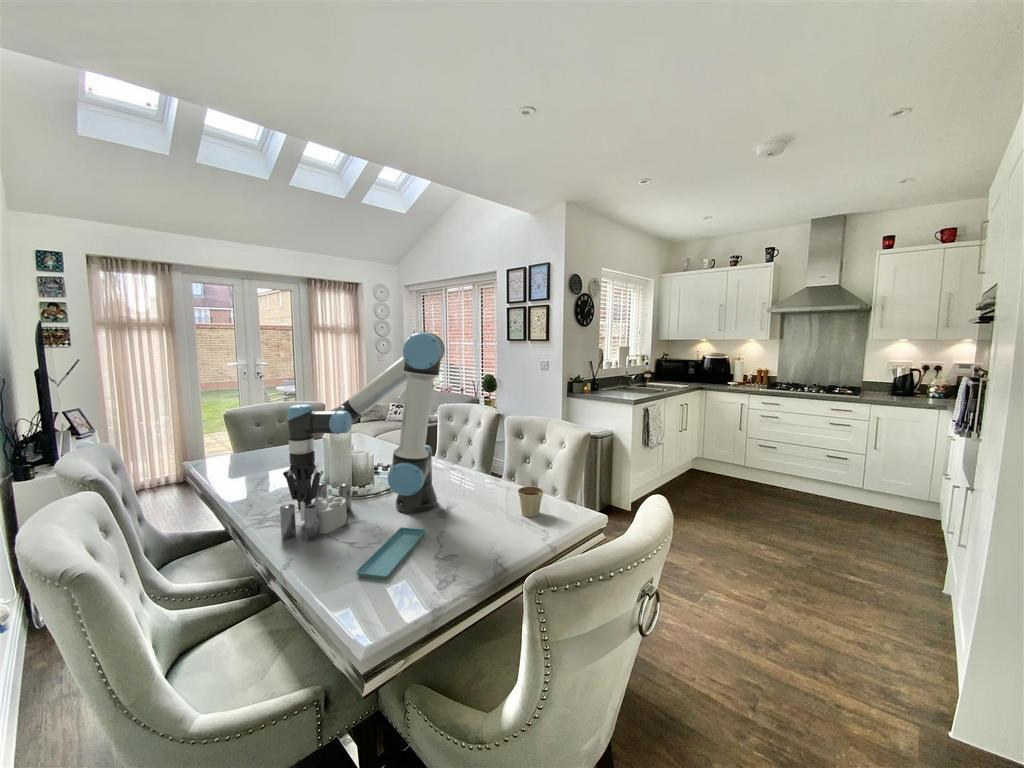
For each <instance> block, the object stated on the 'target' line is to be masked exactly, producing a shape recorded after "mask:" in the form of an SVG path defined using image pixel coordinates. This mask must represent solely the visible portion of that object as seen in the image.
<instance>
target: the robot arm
mask: <svg viewBox="0 0 1024 768" xmlns="http://www.w3.org/2000/svg"><path fill="white" fill-rule="evenodd" d="M445 349H446V348H445V344H444V342H443V340H442V338H441V337H439V336H438V335H436V334H434V333H431V332H427V331H419V332H418V331H417V332H415V333H413V334H412V335H410V336H409V337H408V338H407V339H406V340H405V342H404V344H403V347H402V357H401V358H399V359H398V360H397V361H396V362H394V363H392V364H391V365H390V366H389V367H388V368H387V369H385V370H384V371H382V372H381V373H380V374H379V375H377V377H375V378H374V379H372V380H371V381H370V382H369V383H367V384H366V385H364V386H363V387H362V388H361V389H360V390H359V391H357V392H356V393H354V394H353V395H352V396H351V397H349V398H348V399H347V400H345V401H344V402H343V403H342V404H340V405H338V407H335V408H333V409H330V410H314V409H313V405H312V404H307V403H303V404H302V403H301V404H294V405H290V406H289V407H288V408H287V417H286V418H287V419H286V421H287V431H288V432H287V433H288V452H290V453H289V464H290V466H289V469H287V470H285V471H283V473H282V474H283V477H284V478H285V480H286V483H287V486H288V490H289V492H290V493H289V494H290V495H291V496H290V498H291V499H292V500H293V501H294V500H296V501H297V507H298V511H300V520H301V521H300V522H305V516H304V508H305V507H306V506H307V505H309V504H311V500H312V501H313V500H315V498H316V497H317V492H318V487H319V482H321V477H322V476H323V474H324V471H323V470H319V469H318V468H317V466H316V464H315V461H316V457H315V456H316V455H315V450H314V449H315V435H317V434H325V435H326V434H335V435H338V434H339V435H340V434H347V433H349V432H350V430H351V428H352V425H353V424H354V423H355V422H356V421H357V420H358V419H359V418H360V417H362V416H363V415H364V414H366V413H367V412H368V411H369V410H371V409H372V408H374V406H376V405H377V404H378V403H380V402H381V401H382V400H383V399H385V398H386V397H387V396H389V395H390V394H391V393H393V392H394V391H395V390H397V389H398V388H399V387H401V386H402V385H403V384H405V382H406V385H405V394H404V400H403V401H404V402H403V410H402V417H401V426H400V433H399V443H398V447H396V449H394V450H393V453H392V462H391V467H390V469H389V471H388V473H387V483H388V487H389V488H390V489H391V490H392V491H393V492H394V493H395V494H397V497H396V499H395V508H396V510H397V511H399V512H401V513H404V514H418V513H424V512H429V511H431V510H433V509H435V508H436V507H437V505H438V497H437V494H436V491H435V488H434V486H433V469H432V468H433V463H432V462H433V460H432V458H433V457H432V455H433V452H432V447H431V446H430V445H428V444H426V443H427V435H428V425H429V419H430V413H431V412H430V411H431V410H430V409H431V404H432V403H431V402H432V395H433V387H434V380H435V379H436V378H437V377H439V375H440V368H441V362H442V359H443V358H444V356H445ZM312 475H313V476H312ZM312 477H313V478H312Z"/></svg>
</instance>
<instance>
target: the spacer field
mask: <svg viewBox="0 0 1024 768" xmlns="http://www.w3.org/2000/svg"><path fill="white" fill-rule="evenodd" d="M351 488H352V486H351V482H342V483H339V484H338V497H342V498H345V499H346V510H347V514H348V513H351V512H352V510H353V508H352V492H351V491H352V489H351ZM317 498H324V499H325V498H328V483H327V482H326V481H320V482H319V487H318V492H317V497H316V498H314V501H315V500H316V499H317ZM312 501H313V500H311V504H312V503H313V502H312ZM295 507H296V506H295V504H294V503H288V504H283V505H281V506H280V507H279V511H280V513H279V515H280V530H281V531H280V533H281V534H280V535H281V540H282V539H283V540H282V541H290V540H289V539H291V540H293V538H294V537H295V538H296V537H297V530H296V529H297V526H296V510H295V509H296V508H295ZM305 525H306V530H305V540H306V541H307V542H315V540H316V541H318V540H320V539H321V534H320V518H319V506H318V505H310V506H307V507H305V521H304V526H305ZM295 538H294V539H295ZM319 538H320V539H319ZM317 539H318V540H317Z"/></svg>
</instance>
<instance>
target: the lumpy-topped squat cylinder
mask: <svg viewBox="0 0 1024 768" xmlns="http://www.w3.org/2000/svg"><path fill="white" fill-rule="evenodd" d="M310 505H318V506H319V518H320V535H324V534H323V533H325V534H328V533H330V531H331V532H333V531H336V530H337V528H338V529H340V528H341V527H343V526H344V525H345V524H346V523H347V522H346V521H348V515H347V514H348V513H347V510H346V499H345V498H342V497H339V496H336V495H335V496H334V495H330V496H327V498H325V499H324V498H317V499H316V500H315V499H314V501H313V502H312V504H309V505H307V506H310ZM307 506H306V507H307ZM304 516H305V508H304ZM304 529H305V531H306V525H305V524H304ZM327 532H328V533H327Z"/></svg>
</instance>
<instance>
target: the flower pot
mask: <svg viewBox="0 0 1024 768" xmlns="http://www.w3.org/2000/svg"><path fill="white" fill-rule="evenodd" d="M517 493H518V496H519V500H520V502H519V503H520V509H521V515H522V516H523V517H528V518H535V517H538V516H539V514H540V511H541V502H542V499H543V495H544V493H545V490H544V489H543V488H541V487H537V486H533V485H531V486H530V485H529V486H522V487H520V488H518V489H517Z"/></svg>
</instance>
